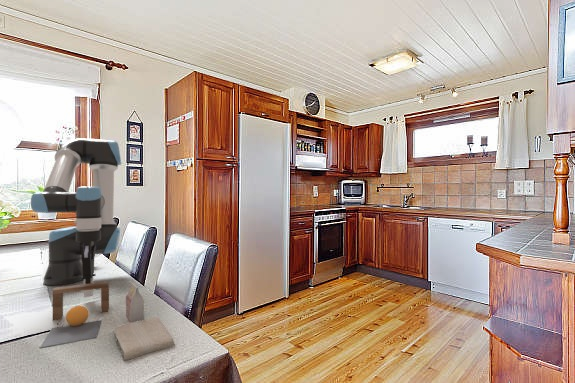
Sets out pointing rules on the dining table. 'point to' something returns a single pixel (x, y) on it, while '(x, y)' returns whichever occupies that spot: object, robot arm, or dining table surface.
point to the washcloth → (142, 338)
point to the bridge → (60, 290)
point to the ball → (77, 315)
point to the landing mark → (71, 334)
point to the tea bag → (134, 305)
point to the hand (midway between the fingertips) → (88, 295)
